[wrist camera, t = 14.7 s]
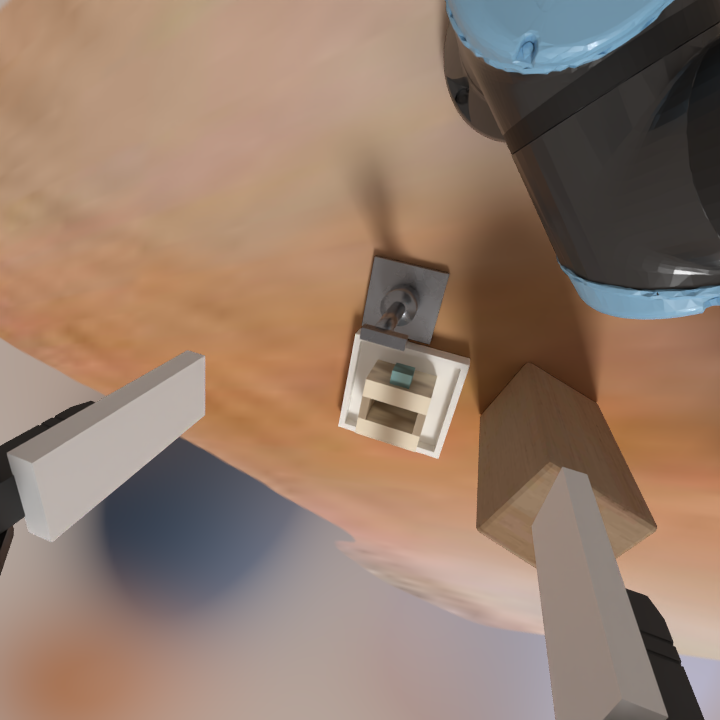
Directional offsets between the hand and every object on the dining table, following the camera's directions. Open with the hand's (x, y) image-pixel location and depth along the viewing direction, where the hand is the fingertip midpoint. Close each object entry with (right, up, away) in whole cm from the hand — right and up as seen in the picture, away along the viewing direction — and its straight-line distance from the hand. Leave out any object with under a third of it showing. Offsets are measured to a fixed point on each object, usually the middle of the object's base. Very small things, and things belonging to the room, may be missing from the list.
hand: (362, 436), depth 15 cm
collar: (+5, -2, +40) cm, 40 cm away
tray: (+6, -1, +41) cm, 41 cm away
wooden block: (+22, -3, +37) cm, 43 cm away
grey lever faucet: (+5, +10, +36) cm, 37 cm away
